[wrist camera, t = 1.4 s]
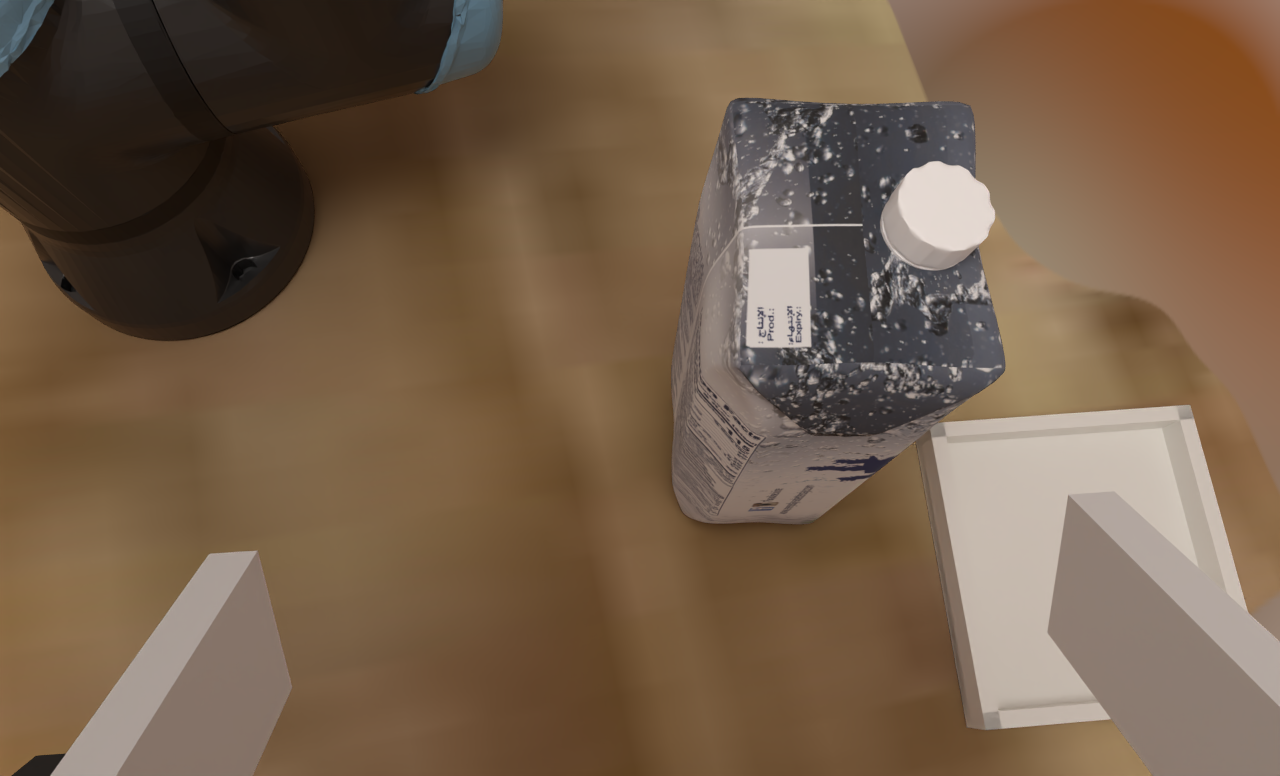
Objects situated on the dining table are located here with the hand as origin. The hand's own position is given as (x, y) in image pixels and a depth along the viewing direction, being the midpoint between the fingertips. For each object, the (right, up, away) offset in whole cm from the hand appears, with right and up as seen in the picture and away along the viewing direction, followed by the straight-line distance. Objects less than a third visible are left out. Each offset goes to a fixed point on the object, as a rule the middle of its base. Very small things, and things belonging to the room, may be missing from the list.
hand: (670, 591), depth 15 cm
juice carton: (+5, 0, +36) cm, 36 cm away
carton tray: (+23, -6, +34) cm, 42 cm away
